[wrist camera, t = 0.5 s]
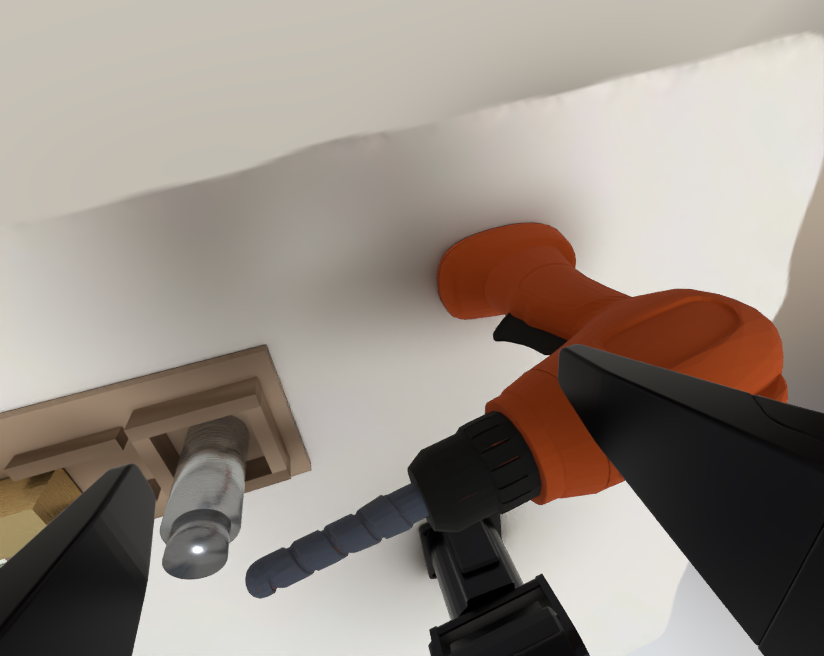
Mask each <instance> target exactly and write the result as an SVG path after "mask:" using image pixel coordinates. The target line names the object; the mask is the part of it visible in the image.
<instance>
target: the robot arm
mask: <svg viewBox="0 0 824 656" xmlns="http://www.w3.org/2000/svg"><path fill="white" fill-rule="evenodd" d="M558 382H559V385H560V388H561V389H562V391H563V392H564V394H565V396H566V397H567V399H568V400H569V402H570V404H571V405H572V407H573V408H574V410H575V411H576V413H577V415H578V416H579V418H580V419H581V421H582V423H583V424H584V426H585V427H586V429H587V430H588V432H589V434H590V435H591V436H592V438H593V439H594V441H595V442H596V444H597V445H598V446H599V448H600V449H601V450H602V451H603V453H604V454H605V455H606V456H607V458H608V459H609V460H610V461H611V463H612V464H613V465H614V467H615V468H616V469H617V470H618V472H619V473H620V474H621V475H622V477H623V478H624V479H625V480H626V482H627V483H628V484H629V485H630V487H631V488H632V489H633V491H634V492H635V493H636V494H637V496H638V497H639V498H640V499H641V501H642V502H643V503H644V504H645V506H646V507H647V508H648V509H649V511H650V512H651V513H652V514H653V516H654V517H655V518H656V520H657V521H658V522H659V523H660V525H661V526H662V527H663V528H664V530H665V531H666V532H667V533H668V535H669V536H670V537H671V538H672V540H673V541H674V542H675V543H676V545H677V546H678V547H679V549H680V550H681V551H682V552H683V554H684V555H685V556H686V557H687V559H688V560H689V561H690V562H691V564H692V565H693V566H694V567H695V569H696V570H697V571H698V572H699V574H700V575H701V576H702V577H703V579H704V580H705V581H706V583H707V584H708V585H709V586H710V588H711V589H712V590H713V591H714V592H715V594H716V595H717V596H718V598H719V599H720V600H721V601H722V603H723V604H724V605H725V607H726V608H727V609H728V610H729V612H730V613H731V614H732V615H733V617H734V618H735V619H736V620H737V622H738V623H739V624H740V625H741V627H742V628H743V629H744V631H745V632H746V633H747V634H748V636H750V638H751V639H752V640H753V642H754V643H755V644H756V645H759V646H758V649H759V650H760V651H761V652H762V654H763V655H764V656H824V413H821V412H816V411H813V410H809V409H805V408H802V407H798V406H794V405H791V404H787V403H783V402H780V401H776V400H773V399H769V398H766V397H762V396H759V395H755V394H754V395H751V394H750V393H748V392H745V391H741V390H738V389H734V388H731V387H727V386H724V385H720V384H717V383H713V382H710V381H706V380H703V379H699V378H696V377H692V376H689V375H686V374H682V373H679V372H675V371H672V370H668V369H665V368H661V367H658V366H654V365H651V364H647V363H644V362H640V361H637V360H633V359H630V358H626V357H623V356H619V355H616V354H612V353H609V352H606V351H602V350H599V349H595V348H592V347H588V346H585V345H581V344H574V345H570V346H566V347H563V348H562V349H561V350H560V351H559V360H558ZM155 506H156V498H155V494H154V491H153V489H152V488H151V486H150V484H149V483H148V481H147V480H146V478H145V476H144V475H143V473H142V472H141V470H140V468H139V467H138V466H137V465H136V464H133V463H129V464H125V465H122V466H118V467H114V468H111V469H109V470H108V471H106V472H105V473H104V474H103V475H102V476H101V477H100V478H99V479H98V480H96V481H95V482H94V483H93V484H92V485H91V486H90V487H89V488H88V489H87V490H85V491H84V492H83V493H82V494H81V495H80V496H79V497H78V498H77V499H76V500H74V501H73V502H72V503H71V504H70V505H69V506H68V507H67V508H66V509H64V510H63V511H62V512H61V513H60V514H59V515H58V516H57V517H56V518H55V519H53V520H52V521H51V522H50V523H49V524H48V525H47V526H46V527H45V528H44V529H42V530H41V531H40V532H39V533H38V534H37V535H36V536H35V537H34V538H32V539H31V540H30V541H29V542H28V543H27V544H26V545H25V546H24V547H23V548H21V549H20V550H19V551H18V552H17V553H16V554H15V555H14V556H13V557H12V558H10V559H9V560H8V561H7V562H6V563H5V564H4V565H3V566H2V567H0V656H132V652H133V648H134V643H135V639H136V634H137V629H138V625H139V620H140V615H141V611H142V606H143V602H144V597H145V592H146V587H147V582H148V574H149V567H150V556H151V546H152V536H153V526H154V516H155ZM419 534H420V539H421V543H422V548H423V552H424V557H425V561H426V566H427V570H428V574H429V577H430V578H431V579H436V578H437V579H438V582H439V585H440V588H441V591H442V594H443V597H444V600H445V603H446V606H447V609H448V613H449V616H450V619H451V621H449V622H447V623H445V624H443V625H441V626H439V627H437V626H435V627H433V628H431V629H429V631H430V636H431V640H432V641H431V642H430V644H429V645H428V647H429V650H430V654H431V656H590V655H589V653H588V651H587V649H586V647H585V645H584V643H583V641H582V639H581V637H580V636H579V634H578V632H577V630H576V628H575V627H574V625H573V623H572V622H571V620H570V618H569V617H568V615H567V613H566V612H565V610H564V609H563V607H562V605H561V604H560V602H559V600H558V599H557V597H556V595H555V594H554V592H553V591H552V589H551V587H550V586H549V584H548V582H547V581H546V579H545V577H544V576H543V574H540V575H538V576H536V577H535V579H533V580H531V581H529V582H527V583H525V584H523V582H522V580H521V578H520V576H519V574H518V572H517V570H516V568H515V566H514V564H513V562H512V560H511V558H510V556H509V554H508V552H507V550H506V548H505V546H504V544H503V542H502V538H501V524H500V514H497V513H494V514H492V515H490V516H488V517H486V518H485V519H483V520H481V521H479V522H477V523H475V524H473V525H471V526H469V527H467V528H465V529H464V530H462V531H460V532H439V531H434V530H433V528H432V527H431V525H430V524H426V525H424V526H422V527H421V528H420V529H419Z"/></svg>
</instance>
